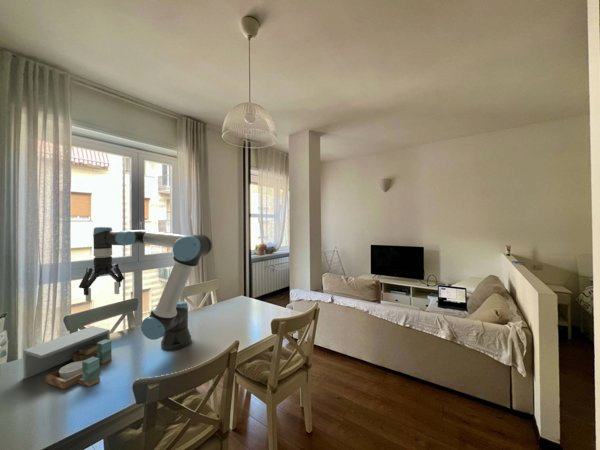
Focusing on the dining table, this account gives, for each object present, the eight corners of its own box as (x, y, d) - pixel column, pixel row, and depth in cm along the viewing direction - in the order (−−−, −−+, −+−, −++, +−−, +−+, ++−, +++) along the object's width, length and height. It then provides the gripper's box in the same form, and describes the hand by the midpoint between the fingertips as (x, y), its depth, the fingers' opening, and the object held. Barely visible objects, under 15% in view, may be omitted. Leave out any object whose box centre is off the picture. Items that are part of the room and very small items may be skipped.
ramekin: (55, 385, 102) (55, 374, 102) (62, 373, 110) (62, 364, 110) (83, 378, 107) (83, 368, 106) (88, 368, 114) (88, 358, 114)
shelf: (109, 353, 127) (109, 329, 127) (41, 384, 102) (41, 355, 102) (92, 348, 132) (92, 326, 132) (23, 377, 107) (23, 349, 107)
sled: (111, 374, 109) (111, 353, 109) (76, 393, 97) (76, 369, 97) (81, 365, 116) (81, 345, 116) (45, 382, 104) (45, 359, 104)
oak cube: (98, 355, 125) (98, 345, 125) (88, 360, 120) (87, 350, 120) (89, 354, 126) (89, 344, 126) (79, 359, 121) (79, 349, 121)
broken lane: (116, 357, 123) (116, 338, 123) (96, 367, 114) (96, 346, 114) (93, 351, 129) (93, 332, 129) (72, 360, 121) (72, 340, 121)
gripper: (122, 253, 141) (122, 290, 141) (69, 259, 117) (69, 304, 117) (131, 253, 138) (131, 291, 138) (79, 260, 115) (79, 305, 115)
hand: (103, 297), depth 128 cm, fingers open, 13 cm apart
